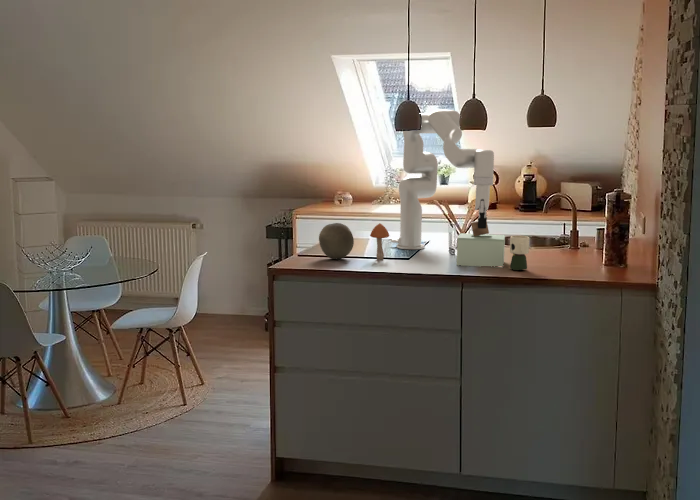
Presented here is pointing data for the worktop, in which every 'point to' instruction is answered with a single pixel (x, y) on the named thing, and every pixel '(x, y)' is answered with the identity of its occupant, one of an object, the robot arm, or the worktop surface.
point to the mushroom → (379, 238)
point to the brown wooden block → (479, 229)
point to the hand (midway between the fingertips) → (482, 227)
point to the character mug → (519, 252)
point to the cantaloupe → (336, 240)
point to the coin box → (480, 250)
